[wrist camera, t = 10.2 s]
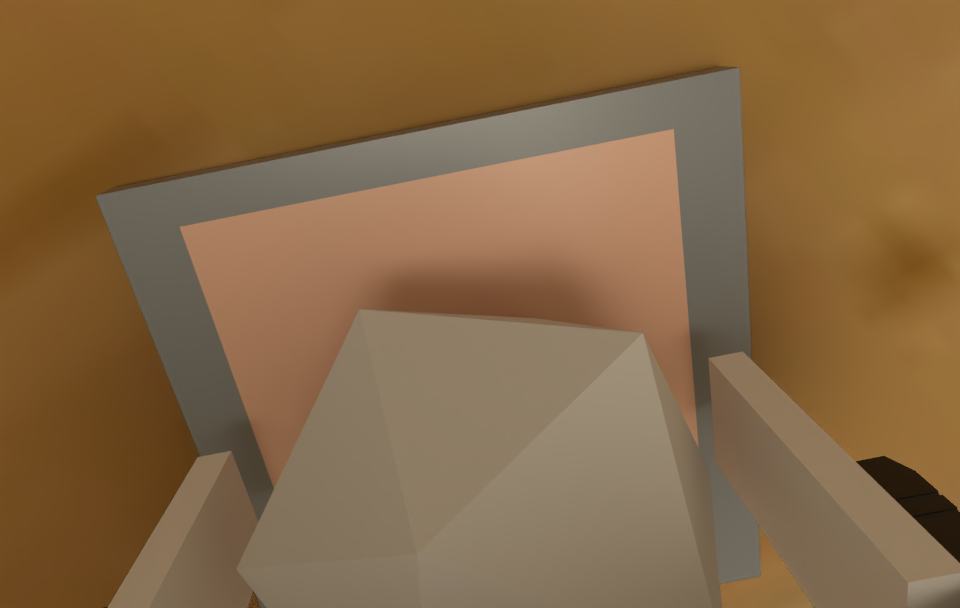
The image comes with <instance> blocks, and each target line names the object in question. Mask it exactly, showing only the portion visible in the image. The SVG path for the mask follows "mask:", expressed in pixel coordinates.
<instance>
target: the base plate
mask: <svg viewBox="0 0 960 608" xmlns="http://www.w3.org/2000/svg"><path fill="white" fill-rule="evenodd" d="M96 199H97V201H98V204H99V206H100V209H101V211H102V214H103V216H104V219H105V221H106V224H107V226H108V229H109V231H110V234H111V236H112V239H113V241H114V244H115V246H116V249H117V251H118V254H119V256H120V259H121V261H122V264H123V266H124V269H125V271H126V274H127V276H128V279H129V281H130V284H131V286H132V289H133V291H134V294H135V296H136V298H137V301H138V303H139V306H140V308H141V311H142V313H143V316H144V318H145V321H146V323H147V326H148V328H149V331H150V333H151V336H152V338H153V341H154V343H155V346H156V348H157V351H158V353H159V356H160V358H161V361H162V363H163V366H164V368H165V371H166V373H167V376H168V378H169V381H170V383H171V386H172V388H173V391H174V393H175V396H176V398H177V401H178V403H179V406H180V408H181V411H182V413H183V416H184V418H185V421H186V423H187V426H188V428H189V431H190V433H191V436H192V438H193V441H194V443H195V445H196V448H197V450H198V453H199V455H200V457H202V456H207V455H212V454H217V453H222V452H227V451H232V454H233V457H234V459H235V462H236V465H237V467H238V470H239V472H240V475H241V478H242V480H243V483H244V486H245V488H246V491H247V494H248V496H249V499H250V501H251V504H252V507H253V509H254V512H255V515H256V517H257V520H258V522H259V520H260V518H261V516H262V514H263V512H264V510H265V507H266V505H267V503H268V501H269V499H270V497H271V495H272V493H273V491H274V488H275V486H276V484H277V482H278V480H279V478H280V476H281V474H282V472H283V469H284V467H285V465H286V463H287V461H288V459H289V457H290V455H291V453H292V450H293V448H294V446H295V444H296V442H297V440H298V438H299V436H300V434H301V431H302V429H303V427H304V425H305V423H306V421H307V419H308V417H309V415H310V412H311V410H312V408H313V406H314V404H315V402H316V400H317V398H318V396H319V393H320V391H321V389H322V387H323V385H324V383H325V381H326V379H327V377H328V374H329V372H330V370H331V368H332V366H333V364H334V362H335V360H336V358H337V355H338V353H339V351H340V349H341V347H342V345H343V343H344V341H345V339H346V337H347V334H348V332H349V330H350V328H351V326H352V324H353V322H354V320H355V318H356V315H357V313H358V311H359V309H366V310H386V311H405V312H425V313H444V314H464V315H483V316H503V317H522V318H538V319H545V320H552V321H560V322H567V323H574V324H582V325H589V326H596V327H603V328H611V329H618V330H625V331H633V332H640V333H643V334H644V336H645V338H646V340H647V342H648V344H649V346H650V348H651V350H652V353H653V355H654V357H655V359H656V361H657V363H658V365H659V367H660V369H661V371H662V373H663V375H664V377H665V380H666V382H667V384H668V386H669V388H670V390H671V392H672V394H673V396H674V398H675V400H676V402H677V404H678V407H679V409H680V411H681V413H682V415H683V417H684V419H685V421H686V423H687V425H688V427H689V429H690V431H691V434H692V436H693V438H694V440H695V442H696V444H697V446H698V448H699V450H700V452H701V454H702V456H703V458H704V461H705V463H706V465H707V467H708V469H709V477H710V488H711V498H712V509H713V519H714V530H715V540H716V551H717V561H718V572H719V583H720V584H722V583H727V582H732V581H738V580H743V579H748V578H754V577H759V576H761V567H760V543H759V525H758V524H757V522H756V521H755V519H754V518H753V516H752V515H751V513H750V512H749V511H748V509H747V508H746V506H745V505H744V503H743V502H742V500H741V499H740V497H739V496H738V494H737V493H736V491H735V490H734V488H733V487H732V486H731V484H730V483H729V481H728V480H727V478H726V477H725V475H724V474H723V472H722V471H721V469H720V468H719V466H718V465H717V463H716V461H715V447H714V432H713V417H712V403H711V388H710V373H709V359H708V358H711V357H716V356H722V355H727V354H732V353H737V352H742V351H743V352H744V353H745V354H746V355H747V356H748V357H749V358H750V359H751V360H752V353H751V329H750V305H749V281H748V257H747V234H746V210H745V186H744V162H743V138H742V114H741V91H740V67H716V68H711V69H706V70H701V71H696V72H691V73H686V74H681V75H676V76H671V77H666V78H661V79H656V80H651V81H646V82H641V83H636V84H631V85H626V86H621V87H616V88H611V89H606V90H601V91H596V92H591V93H586V94H581V95H576V96H571V97H566V98H561V99H556V100H551V101H546V102H541V103H535V104H530V105H525V106H520V107H515V108H510V109H505V110H500V111H495V112H490V113H485V114H480V115H475V116H470V117H465V118H460V119H455V120H450V121H445V122H440V123H435V124H430V125H425V126H420V127H415V128H410V129H405V130H400V131H395V132H390V133H385V134H380V135H375V136H370V137H365V138H360V139H355V140H350V141H345V142H340V143H335V144H330V145H325V146H320V147H315V148H310V149H305V150H300V151H295V152H290V153H285V154H280V155H275V156H270V157H265V158H260V159H255V160H249V161H244V162H239V163H234V164H229V165H224V166H219V167H214V168H209V169H204V170H199V171H194V172H189V173H184V174H179V175H174V176H169V177H164V178H159V179H154V180H149V181H144V182H139V183H134V184H129V185H124V186H119V187H115V188H113V189H110V190H108V191H106V192H103V193H101V194H98V195H96ZM255 595H256V594H255ZM256 597H257V600H258V602H259V605H260V607H261V608H266V606H265V605H264V604H263V603H262V601H261V600H260V599H259V598H258V596H257V595H256Z"/></svg>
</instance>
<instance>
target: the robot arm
mask: <svg viewBox="0 0 960 608" xmlns="http://www.w3.org/2000/svg"><path fill="white" fill-rule="evenodd" d="M708 359H709V373H710V388H711V403H712V417H713V432H714V447H715V461H716V463H717V465H718V466H719V468H720V469H721V471H722V472H723V474H724V475H725V477H726V478H727V480H728V481H729V483H730V484H731V486H732V487H733V488H734V490H735V491H736V493H737V494H738V496H739V497H740V499H741V500H742V502H743V503H744V505H745V506H746V508H747V509H748V511H749V512H750V513H751V515H752V516H753V518H754V519H755V521H756V522H757V524H758V525H759V527H760V528H761V530H762V531H763V533H764V534H765V536H766V537H767V538H768V540H769V541H770V543H771V544H772V546H773V547H774V549H775V550H776V552H777V553H778V555H779V556H780V558H781V559H782V561H783V562H784V563H785V565H786V566H787V568H788V569H789V571H790V572H791V574H792V575H793V577H794V578H795V580H796V581H797V583H798V584H799V586H800V587H801V589H802V590H803V591H804V593H805V594H806V596H807V597H808V599H809V600H810V602H811V603H812V605H813V606H814V608H960V512H959V511H958V510H957V507H956V506H955V505H954V504H952V503H951V502H950V501H949V500H948V499H947V498H946V497H944V496H943V495H939V493H938V490H936V489H935V488H934V487H933V486H932V485H931V484H930V483H928V482H927V481H926V480H925V479H924V478H923V477H922V476H920V475H919V474H918V473H917V472H916V471H914V470H912V469H910V468H908V467H906V466H904V465H902V464H900V463H897V462H895V461H893V460H891V459H889V458H887V457H885V456H881V457H876V458H871V459H866V460H861V461H855V460H853V459H852V458H851V457H850V456H849V455H848V454H847V453H846V452H845V451H844V450H843V449H842V448H841V447H840V446H839V445H838V444H837V443H836V442H835V441H834V440H833V439H832V438H831V437H830V436H829V435H828V434H827V433H826V432H825V431H824V430H823V429H822V428H821V427H820V426H819V425H818V424H817V423H816V422H815V421H814V420H813V419H811V418H810V417H809V416H808V415H807V414H806V413H805V412H804V411H803V410H802V409H801V408H800V407H799V406H798V405H797V404H796V403H795V402H794V401H793V400H792V399H791V398H790V397H789V396H788V395H787V394H786V393H785V392H784V391H783V390H782V389H781V388H780V387H779V386H778V385H777V384H776V383H775V382H774V381H773V380H772V379H770V378H769V377H768V376H767V375H766V374H765V373H764V372H763V371H762V370H761V369H760V368H759V367H758V366H757V365H756V364H755V363H754V362H753V361H752V360H751V359H750V358H749V357H748V356H747V355H746V354H745V353H744V352H743V351H742V352H737V353H732V354H727V355H722V356H716V357H711V358H708ZM257 524H258V520H257V517H256V515H255V512H254V509H253V507H252V504H251V501H250V499H249V496H248V494H247V491H246V488H245V486H244V483H243V480H242V478H241V475H240V472H239V470H238V467H237V465H236V462H235V459H234V457H233V454H232V451H227V452H222V453H217V454H212V455H207V456H202V457H197V459H196V461H195V462H194V464H193V466H192V467H191V469H190V471H189V472H188V474H187V476H186V477H185V479H184V481H183V483H182V484H181V486H180V488H179V489H178V491H177V493H176V494H175V496H174V498H173V499H172V501H171V503H170V504H169V506H168V508H167V509H166V511H165V513H164V514H163V516H162V518H161V519H160V521H159V523H158V524H157V526H156V528H155V529H154V531H153V533H152V534H151V536H150V538H149V539H148V541H147V543H146V544H145V546H144V548H143V549H142V551H141V553H140V554H139V556H138V558H137V559H136V561H135V563H134V564H133V566H132V568H131V569H130V571H129V573H128V574H127V576H126V578H125V579H124V581H123V583H122V584H121V586H120V588H119V589H118V591H117V593H116V594H115V596H114V598H113V599H112V601H111V603H110V604H109V606H108V607H105V608H248V605H249V602H250V599H251V596H252V594H253V590H252V589H251V587H250V586H249V585H248V584H247V582H246V581H245V580H244V579H243V577H242V576H241V575H240V574H239V572H238V571H237V570H236V569H237V566H238V564H239V562H240V560H241V558H242V556H243V554H244V552H245V550H246V547H247V545H248V543H249V541H250V539H251V537H252V535H253V533H254V531H255V528H256V526H257Z"/></svg>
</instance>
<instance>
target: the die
mask: <svg viewBox="0 0 960 608" xmlns="http://www.w3.org/2000/svg"><path fill="white" fill-rule="evenodd" d="M236 570H237V571H238V572H239V574H240V575H241V576H242V577H243V579H244V580H245V581H246V582H247V584H248V585H249V586H250V587H251V589H252V590H253V591H254V593H255V594H256V595H257V596H258V598H259V599H260V600H261V601H262V603H263V604H264V605H265V606H266V608H722V604H721V593H720V583H719V572H718V561H717V551H716V540H715V530H714V519H713V509H712V498H711V488H710V477H709V469H708V467H707V465H706V463H705V461H704V458H703V456H702V454H701V452H700V450H699V448H698V446H697V444H696V442H695V440H694V438H693V436H692V434H691V431H690V429H689V427H688V425H687V423H686V421H685V419H684V417H683V415H682V413H681V411H680V409H679V407H678V404H677V402H676V400H675V398H674V396H673V394H672V392H671V390H670V388H669V386H668V384H667V382H666V380H665V377H664V375H663V373H662V371H661V369H660V367H659V365H658V363H657V361H656V359H655V357H654V355H653V353H652V350H651V348H650V346H649V344H648V342H647V340H646V338H645V336H644V334H643V333H640V332H633V331H625V330H618V329H611V328H603V327H596V326H589V325H582V324H574V323H567V322H560V321H552V320H545V319H538V318H522V317H503V316H483V315H464V314H444V313H425V312H405V311H386V310H366V309H359V311H358V313H357V315H356V318H355V320H354V322H353V324H352V326H351V328H350V330H349V332H348V334H347V337H346V339H345V341H344V343H343V345H342V347H341V349H340V351H339V353H338V355H337V358H336V360H335V362H334V364H333V366H332V368H331V370H330V372H329V374H328V377H327V379H326V381H325V383H324V385H323V387H322V389H321V391H320V393H319V396H318V398H317V400H316V402H315V404H314V406H313V408H312V410H311V412H310V415H309V417H308V419H307V421H306V423H305V425H304V427H303V429H302V431H301V434H300V436H299V438H298V440H297V442H296V444H295V446H294V448H293V450H292V453H291V455H290V457H289V459H288V461H287V463H286V465H285V467H284V469H283V472H282V474H281V476H280V478H279V480H278V482H277V484H276V486H275V488H274V491H273V493H272V495H271V497H270V499H269V501H268V503H267V505H266V507H265V510H264V512H263V514H262V516H261V518H260V520H259V522H258V524H257V526H256V528H255V531H254V533H253V535H252V537H251V539H250V541H249V543H248V545H247V547H246V550H245V552H244V554H243V556H242V558H241V560H240V562H239V564H238V566H237V569H236Z"/></svg>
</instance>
